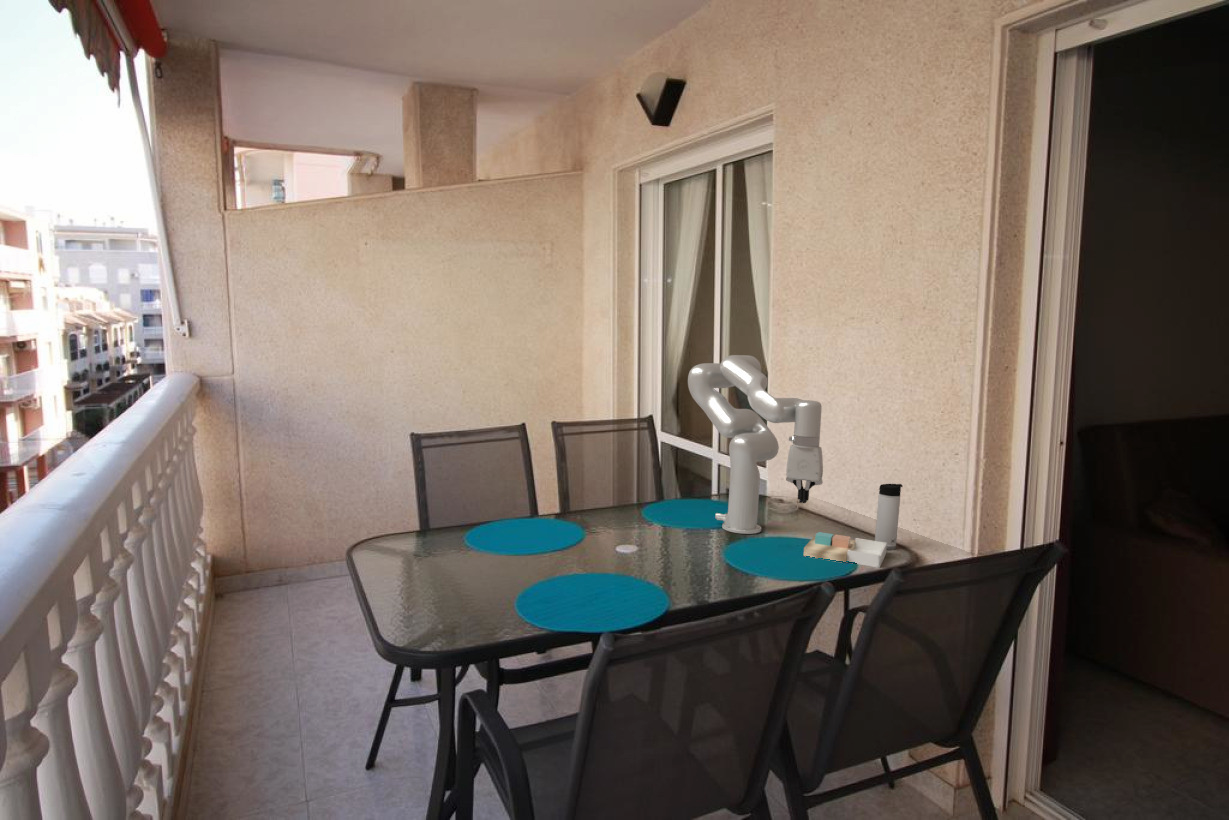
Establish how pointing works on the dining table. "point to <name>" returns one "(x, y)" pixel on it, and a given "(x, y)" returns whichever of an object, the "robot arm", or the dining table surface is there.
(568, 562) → the dining table surface
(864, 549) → the tray
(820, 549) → the board
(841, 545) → the tile terracotta
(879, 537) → the travel mug
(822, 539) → the tile teal
